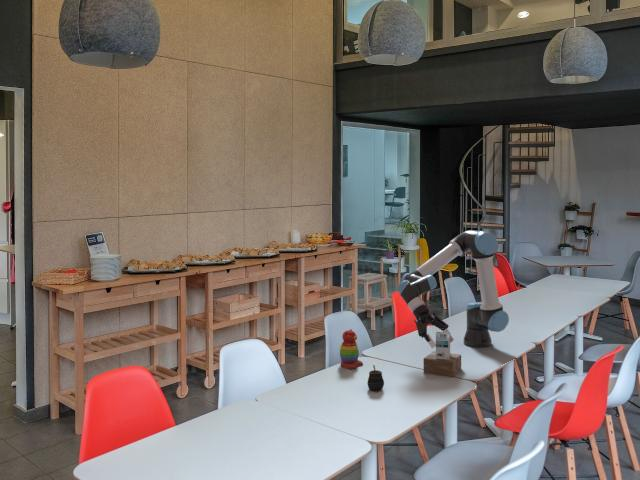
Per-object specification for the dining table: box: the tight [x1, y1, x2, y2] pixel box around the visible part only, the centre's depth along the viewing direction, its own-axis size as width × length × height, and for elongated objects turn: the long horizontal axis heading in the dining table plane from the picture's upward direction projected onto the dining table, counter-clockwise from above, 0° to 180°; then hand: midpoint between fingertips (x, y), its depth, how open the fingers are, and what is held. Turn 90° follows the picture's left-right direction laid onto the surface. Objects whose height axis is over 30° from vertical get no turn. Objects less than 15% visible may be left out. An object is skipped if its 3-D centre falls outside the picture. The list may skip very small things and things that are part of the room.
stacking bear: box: [339, 328, 364, 370], centre depth 302 cm, size 11×10×18 cm
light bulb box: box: [435, 331, 451, 360], centre depth 290 cm, size 11×7×11 cm, turn 168°
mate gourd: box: [366, 364, 385, 392], centre depth 267 cm, size 7×8×10 cm
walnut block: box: [423, 350, 462, 378], centre depth 291 cm, size 14×14×7 cm
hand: (443, 344), depth 289 cm, fingers open, 13 cm apart
